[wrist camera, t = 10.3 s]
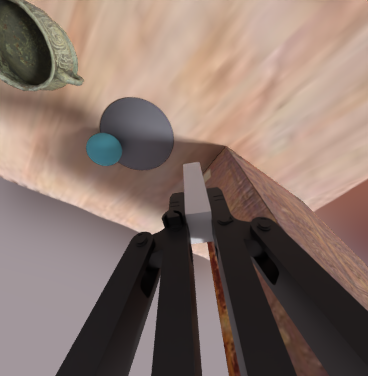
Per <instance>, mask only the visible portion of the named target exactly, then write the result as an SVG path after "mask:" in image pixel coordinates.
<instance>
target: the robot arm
mask: <svg viewBox="0 0 368 376" xmlns="http://www.w3.org/2000/svg"><path fill="white" fill-rule="evenodd" d="M183 175H184V192H181V193H174V194H172V196H171V197H170V204H169V211H167V212H165V214H164V215H163V216H162V221H163V224H164V227H165V228H164V229H163V230H162V231H160V232H158V233H155V234H153V235H152V234H151V233H149V232H141V233H138V234H137V235H136V236H134V237H133V238H132V240H131V241H130V244H129V245H128V247H127V249H126V251H125V253H124V254H123V256H122V258H121V259H120V261H119V263H118V265H117V267H116V268H115V270H114V272H113V274H112V276H111V277H110V279H109V281H108V283H107V285H106V286H105V288H104V290H103V292H102V293H101V295H100V297H99V299H98V301H97V302H96V304H95V306H94V308H93V309H92V311H91V313H90V315H89V317H88V319H87V320H86V322H85V324H84V326H83V328H82V329H81V331H80V333H79V335H78V337H77V338H76V340H75V342H74V344H73V345H72V347H71V349H70V351H69V353H68V354H67V356H66V358H65V360H64V361H63V363H62V365H61V367H60V369H59V370H58V372H57V374H56V376H128V374H129V371H130V368H131V365H132V362H133V359H134V356H135V352H136V350H137V347H138V344H139V340H140V337H141V334H142V331H143V328H144V325H145V321H146V319H147V315H148V312H149V309H150V306H151V303H152V300H153V297H154V294H155V291H156V288H157V284H158V281H159V278H160V287H159V298H158V309H157V320H156V331H155V341H154V352H153V364H152V374H151V376H202V369H201V356H200V342H199V330H198V317H197V304H196V291H195V279H194V267H193V253H192V247H191V244H195V243H204V242H212V241H214V245H215V256H216V257H217V262H218V267H219V272H220V277H221V282H222V287H223V291H224V296H225V301H226V306H227V311H228V316H229V321H230V326H231V331H232V336H233V340H234V345H235V350H236V355H237V360H238V365H239V370H240V375H241V376H297V374H296V372H295V369H294V366H293V364H292V361H291V359H290V356H289V354H288V351H287V349H286V346H285V344H284V341H283V339H282V336H281V333H280V331H279V328H278V326H277V323H276V321H275V318H274V316H273V313H272V311H271V308H270V306H269V303H268V300H267V298H266V295H265V293H264V290H263V288H262V285H261V283H260V280H259V278H258V275H257V273H256V270H255V268H254V265H255V267H256V268H257V270H258V271H259V273H260V274H261V276H262V277H263V279H264V280H265V282H266V283H267V284H268V286H269V287H270V289H271V290H272V292H273V293H274V295H275V296H276V298H277V299H278V301H279V302H280V304H281V305H282V307H283V308H284V310H285V311H286V313H287V314H288V316H289V317H290V318H291V320H292V321H293V323H294V324H295V326H296V327H297V329H298V330H299V332H300V333H301V335H302V336H303V338H304V339H305V341H306V342H307V344H308V345H309V347H310V348H311V350H312V351H313V352H314V354H315V355H316V357H317V358H318V360H319V361H320V363H321V364H322V366H323V367H324V369H325V370H326V372H327V373H328V375H329V376H368V311H367V310H366V309H365V308H364V307H363V306H362V305H361V304H360V303H359V302H358V301H357V300H356V299H355V298H354V297H353V296H352V295H351V294H350V293H349V292H348V291H347V290H345V289H344V288H343V287H342V286H341V285H340V284H339V283H338V282H337V281H336V280H335V279H334V278H333V277H332V276H331V275H330V274H329V273H328V272H327V271H326V270H325V269H324V268H322V267H321V266H320V265H319V264H318V263H317V262H316V261H315V260H314V259H313V258H312V257H311V256H310V255H309V254H308V253H307V252H306V251H305V250H304V249H303V248H302V247H301V246H300V245H298V244H297V243H296V242H295V241H294V240H293V239H292V238H291V237H290V236H289V235H288V234H287V233H286V232H285V231H284V230H283V229H282V228H281V227H280V226H279V225H278V224H277V223H275V222H274V221H273V220H272V219H270V218H267V217H256V218H254V219H252V221H251V222H248V221H241V220H238V219H236V218H234V216H232V215H231V213H230V210H229V208H228V205H227V202H226V200H225V197H224V195H223V192H222V190H221V189H220V188H218V187H213V188H206V187H205V183H204V179H203V175H202V171H201V166H200V162H194V163H187V164H183ZM253 264H254V265H253ZM160 275H161V277H160Z"/></svg>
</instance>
